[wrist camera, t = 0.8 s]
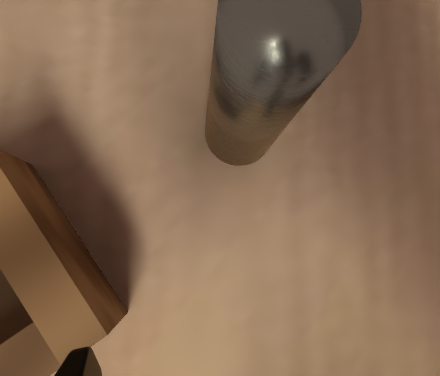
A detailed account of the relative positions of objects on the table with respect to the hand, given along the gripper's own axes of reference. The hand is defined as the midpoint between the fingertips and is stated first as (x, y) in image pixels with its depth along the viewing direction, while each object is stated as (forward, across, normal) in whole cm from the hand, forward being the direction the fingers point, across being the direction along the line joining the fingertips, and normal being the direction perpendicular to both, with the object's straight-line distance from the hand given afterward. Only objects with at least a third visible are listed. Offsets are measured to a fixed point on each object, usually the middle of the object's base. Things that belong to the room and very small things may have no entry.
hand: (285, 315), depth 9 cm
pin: (+15, -2, +2) cm, 15 cm away
